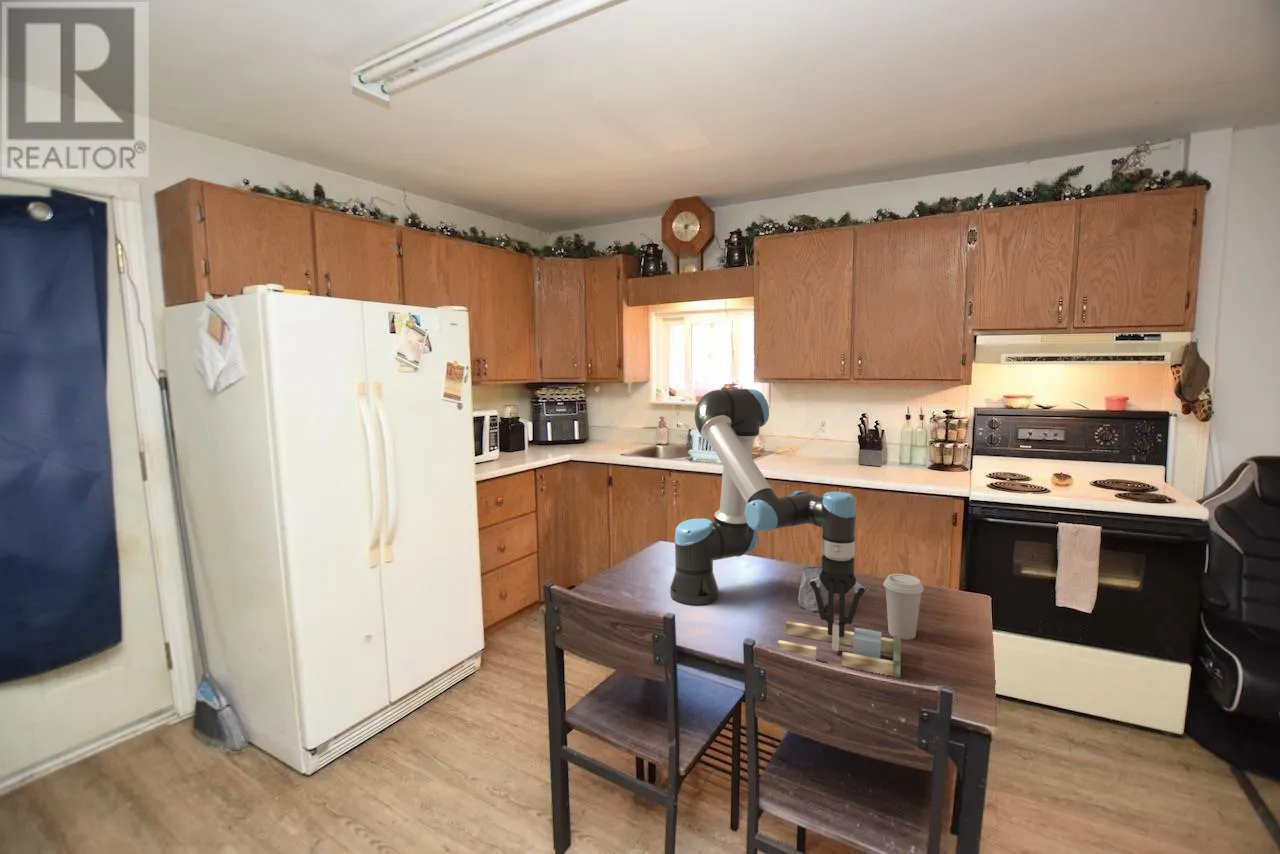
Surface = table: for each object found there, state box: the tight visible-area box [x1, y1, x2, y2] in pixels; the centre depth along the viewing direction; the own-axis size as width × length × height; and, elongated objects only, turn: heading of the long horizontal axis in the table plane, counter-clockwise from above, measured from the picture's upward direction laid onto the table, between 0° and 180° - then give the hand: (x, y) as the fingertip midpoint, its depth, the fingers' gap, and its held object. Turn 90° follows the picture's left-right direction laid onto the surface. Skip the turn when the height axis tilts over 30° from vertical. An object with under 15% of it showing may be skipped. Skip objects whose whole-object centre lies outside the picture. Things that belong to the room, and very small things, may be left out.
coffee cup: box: [883, 573, 925, 641], centre depth 147 cm, size 10×10×15 cm
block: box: [852, 627, 882, 659], centre depth 135 cm, size 6×6×6 cm
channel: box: [777, 620, 902, 678], centre depth 138 cm, size 28×13×4 cm, turn 65°
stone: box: [797, 566, 828, 612], centre depth 166 cm, size 12×10×10 cm
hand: (835, 647), depth 139 cm, fingers closed
